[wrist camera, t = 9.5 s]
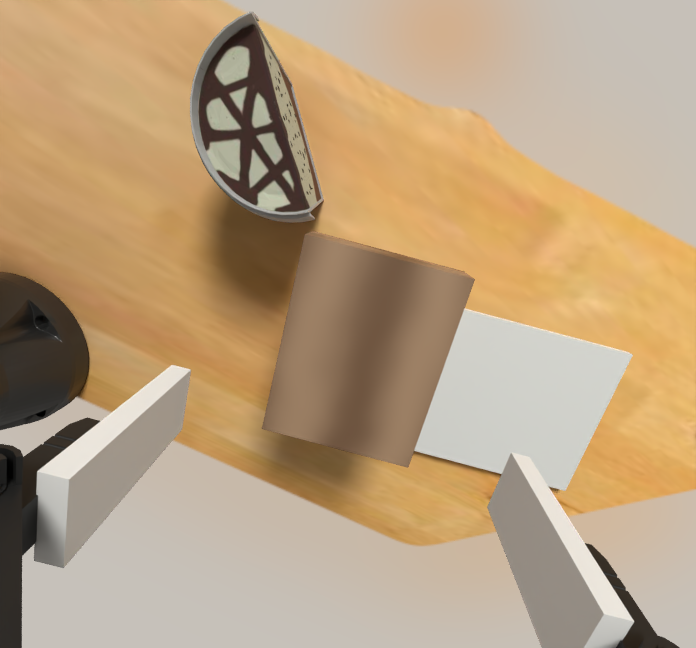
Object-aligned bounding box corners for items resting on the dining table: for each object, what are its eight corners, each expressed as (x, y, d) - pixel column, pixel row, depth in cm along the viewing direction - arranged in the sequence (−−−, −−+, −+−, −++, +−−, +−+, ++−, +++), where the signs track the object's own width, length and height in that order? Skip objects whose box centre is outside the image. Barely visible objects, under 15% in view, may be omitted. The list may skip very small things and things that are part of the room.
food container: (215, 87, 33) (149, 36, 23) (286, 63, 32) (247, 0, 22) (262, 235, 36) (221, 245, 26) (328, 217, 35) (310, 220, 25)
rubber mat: (409, 445, 41) (410, 449, 40) (457, 306, 36) (459, 308, 36) (561, 485, 41) (565, 490, 40) (627, 351, 36) (632, 354, 36)
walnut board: (273, 407, 29) (261, 429, 26) (313, 231, 26) (305, 233, 23) (405, 442, 29) (408, 467, 26) (463, 271, 26) (474, 279, 23)
